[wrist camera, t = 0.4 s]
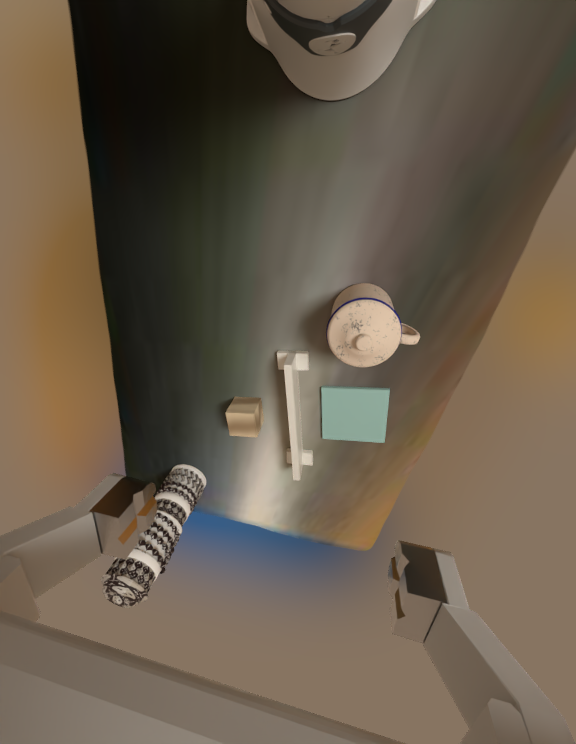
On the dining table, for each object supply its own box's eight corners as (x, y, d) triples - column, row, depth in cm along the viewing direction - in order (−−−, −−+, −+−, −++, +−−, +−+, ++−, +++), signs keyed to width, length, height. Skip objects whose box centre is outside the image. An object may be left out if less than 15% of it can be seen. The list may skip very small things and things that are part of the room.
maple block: (234, 396, 58) (225, 412, 54) (261, 397, 57) (253, 414, 53) (238, 418, 61) (230, 435, 56) (264, 419, 60) (257, 437, 55)
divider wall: (278, 350, 52) (271, 364, 48) (308, 350, 51) (304, 365, 47) (288, 459, 63) (283, 478, 59) (313, 461, 62) (310, 481, 58)
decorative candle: (180, 456, 69) (101, 575, 47) (215, 479, 70) (154, 604, 49) (162, 476, 73) (83, 593, 52) (196, 497, 75) (132, 619, 53)
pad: (321, 385, 54) (321, 387, 53) (389, 388, 52) (389, 390, 51) (322, 436, 59) (322, 438, 58) (384, 440, 57) (384, 442, 56)
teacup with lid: (324, 333, 49) (316, 368, 39) (339, 274, 44) (334, 297, 34) (401, 351, 48) (413, 392, 38) (424, 293, 44) (445, 322, 34)
